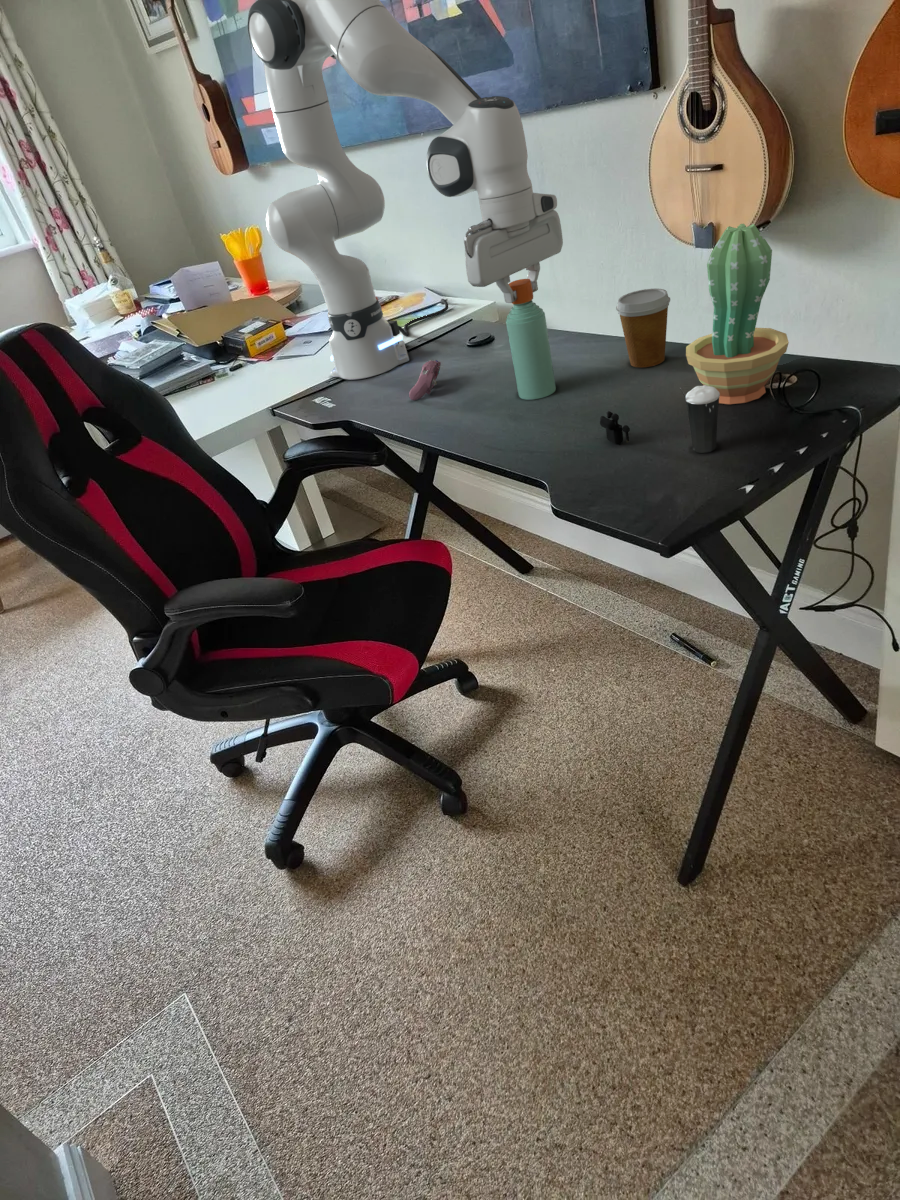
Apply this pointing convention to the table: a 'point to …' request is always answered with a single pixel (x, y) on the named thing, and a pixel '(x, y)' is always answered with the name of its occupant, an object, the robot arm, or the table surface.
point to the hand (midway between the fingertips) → (521, 296)
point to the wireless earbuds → (614, 428)
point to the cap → (522, 290)
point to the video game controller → (425, 380)
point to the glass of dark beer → (703, 417)
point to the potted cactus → (738, 320)
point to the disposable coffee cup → (644, 325)
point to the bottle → (530, 351)
